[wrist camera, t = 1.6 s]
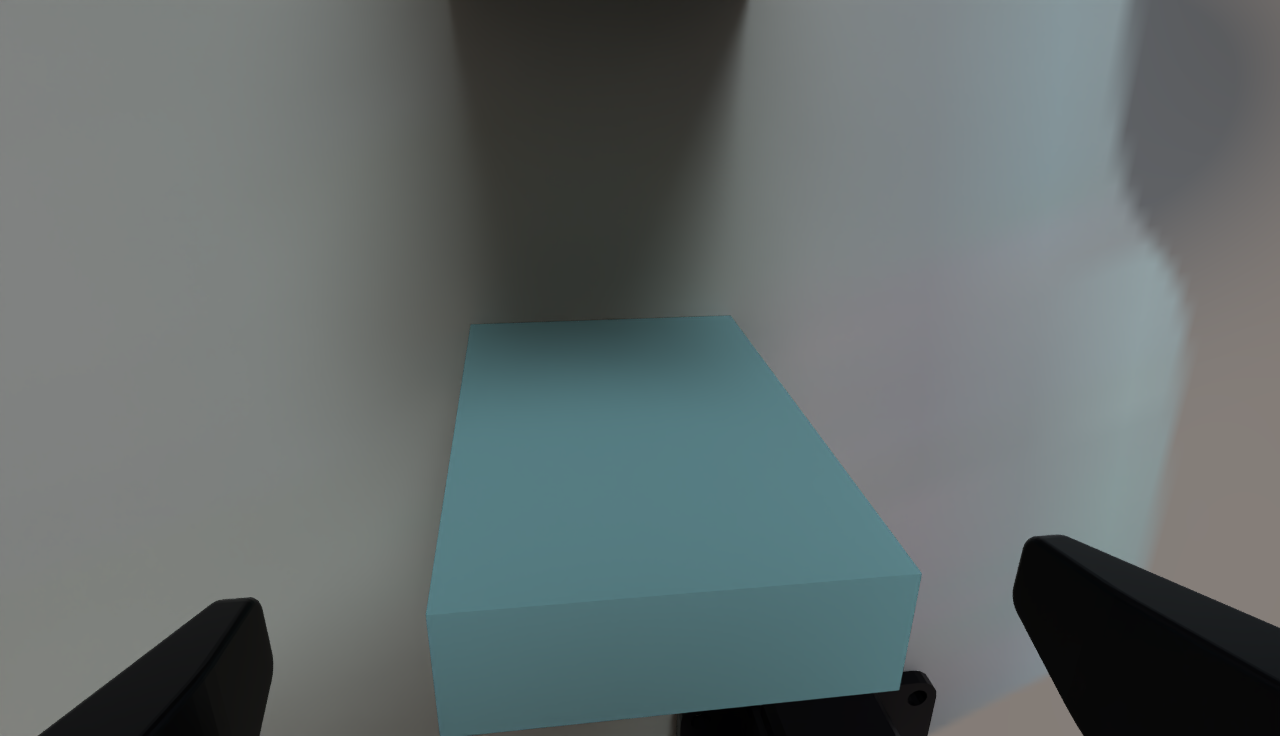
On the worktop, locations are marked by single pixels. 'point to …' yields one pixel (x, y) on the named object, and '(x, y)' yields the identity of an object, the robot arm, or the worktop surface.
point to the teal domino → (649, 535)
